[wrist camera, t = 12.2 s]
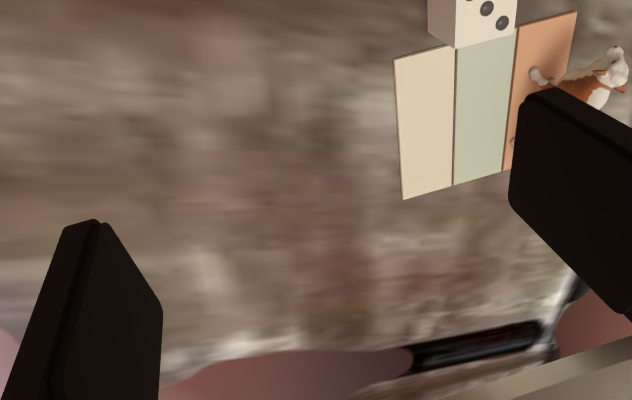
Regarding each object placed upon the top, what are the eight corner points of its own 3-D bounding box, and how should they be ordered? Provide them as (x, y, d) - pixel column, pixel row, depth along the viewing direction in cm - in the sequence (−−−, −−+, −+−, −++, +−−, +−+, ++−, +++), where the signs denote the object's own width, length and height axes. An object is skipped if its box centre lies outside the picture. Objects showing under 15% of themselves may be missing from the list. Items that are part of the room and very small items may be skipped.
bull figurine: (581, 27, 41) (655, 54, 34) (532, 153, 48) (585, 194, 42) (541, 28, 40) (609, 56, 33) (498, 155, 47) (546, 198, 41)
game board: (392, 58, 38) (394, 60, 38) (574, 10, 40) (577, 11, 40) (401, 197, 48) (403, 200, 48) (547, 155, 50) (549, 157, 49)
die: (426, -31, 35) (457, -20, 31) (484, -45, 35) (521, -36, 31) (427, 32, 38) (455, 49, 34) (480, 18, 38) (514, 34, 34)
